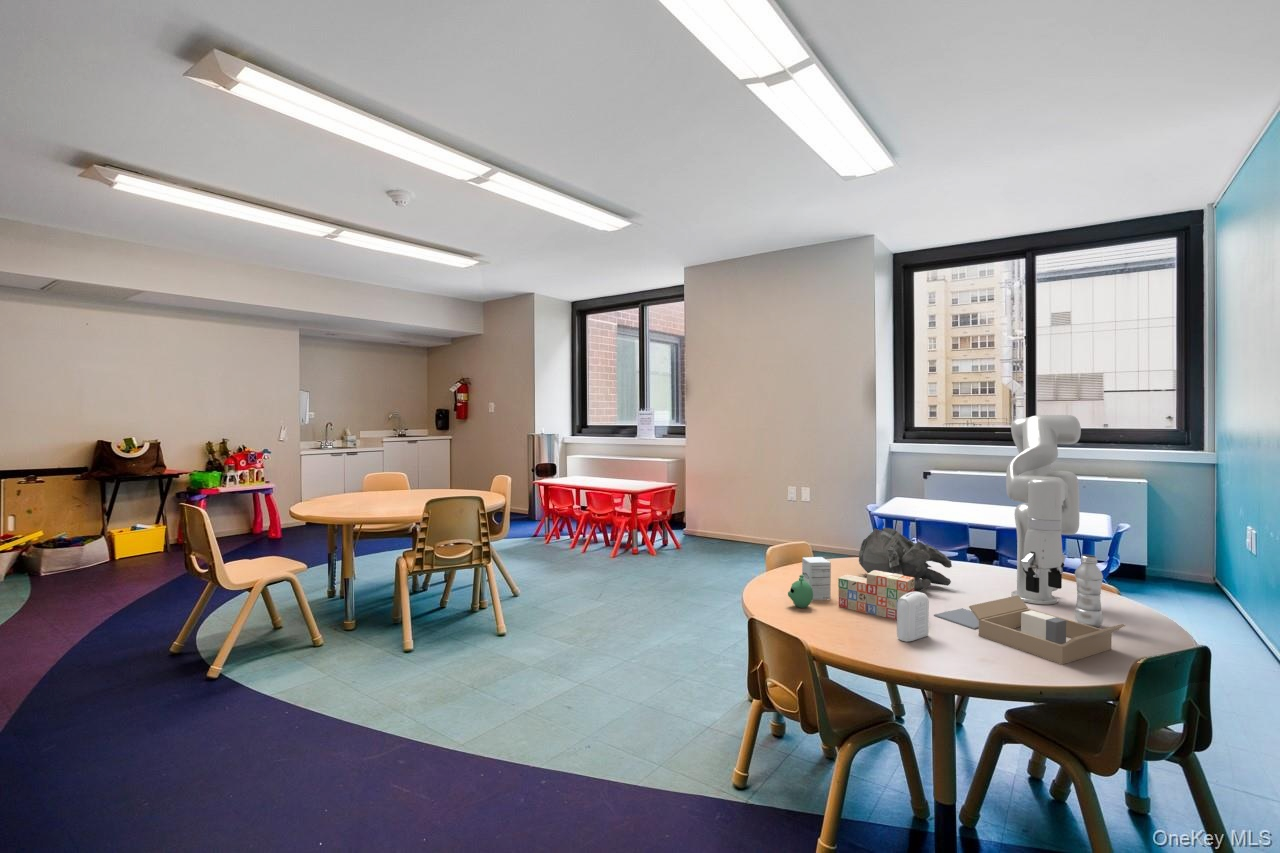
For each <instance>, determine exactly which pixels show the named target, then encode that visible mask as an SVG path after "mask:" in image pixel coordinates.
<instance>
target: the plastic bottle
mask: <svg viewBox="0 0 1280 853" xmlns="http://www.w3.org/2000/svg"><path fill="white" fill-rule="evenodd" d="M1080 562H1081V564H1080V565H1079V566H1078V567H1077V568H1076V569H1075V571H1074V577H1075V583H1076V591H1077V592H1076V595H1077V596H1076V605H1075V608H1074V619H1075V622H1078V623H1082V624H1085V625H1089V626H1092V627H1096V628H1098V627H1100V626H1102V624H1103V622H1104V615H1103V611H1102V603H1101V594H1102V585H1103V579H1104V574H1103V572H1102V571H1101V570H1100V568H1099V567H1098V562H1099V561H1098V556H1096V555H1093V554H1092V555H1091V554H1081V556H1080Z"/></svg>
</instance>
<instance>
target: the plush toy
mask: <svg viewBox="0 0 1280 853" xmlns="http://www.w3.org/2000/svg"><path fill="white" fill-rule="evenodd" d="M872 529H873V530H872V532H870V533H869V534H868V535H867V537H866V538H864V539H863V540H862V543H861V544H860V549H859V552H858V562H859V565H860V566H861V567H862V569H863V570H864V571H865V572H866V574H868V573H870V572H871V571H873V570H877V571H882V572H888V573H893V574H894V573H896V574H901V575H904V576H909V577H914V578H915V581H914V588H915V590H914V591H915V592H921V591H923V590H925V589H927V588H929V587H931V584H933V585H940V586H950V584H951V583H952V581H951V579H950V578H948V577H946V576H945V575H943V573H941V572H939V571H936V570H934V569H931V568H932V566H931V565H930V564H928V562H933V563H938V564H941V565H942V566H943V567H944V568H949V569H950V568H952V567H953V565H952V560H950V558H948V557H947V556H946V554H944V553H942V552H941V551H940V550H938V549H937V548H935V547H934V546H931V545H929V544H924V543H922V542H920V541H918V540H917V542H913V541H912V540H911V539H909V538H907V537H906V536H905V535H903V534H901V533H900V532H899V531H898V530H895V529H894V528H891V527H882V528H881V529H878V528H872Z"/></svg>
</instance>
